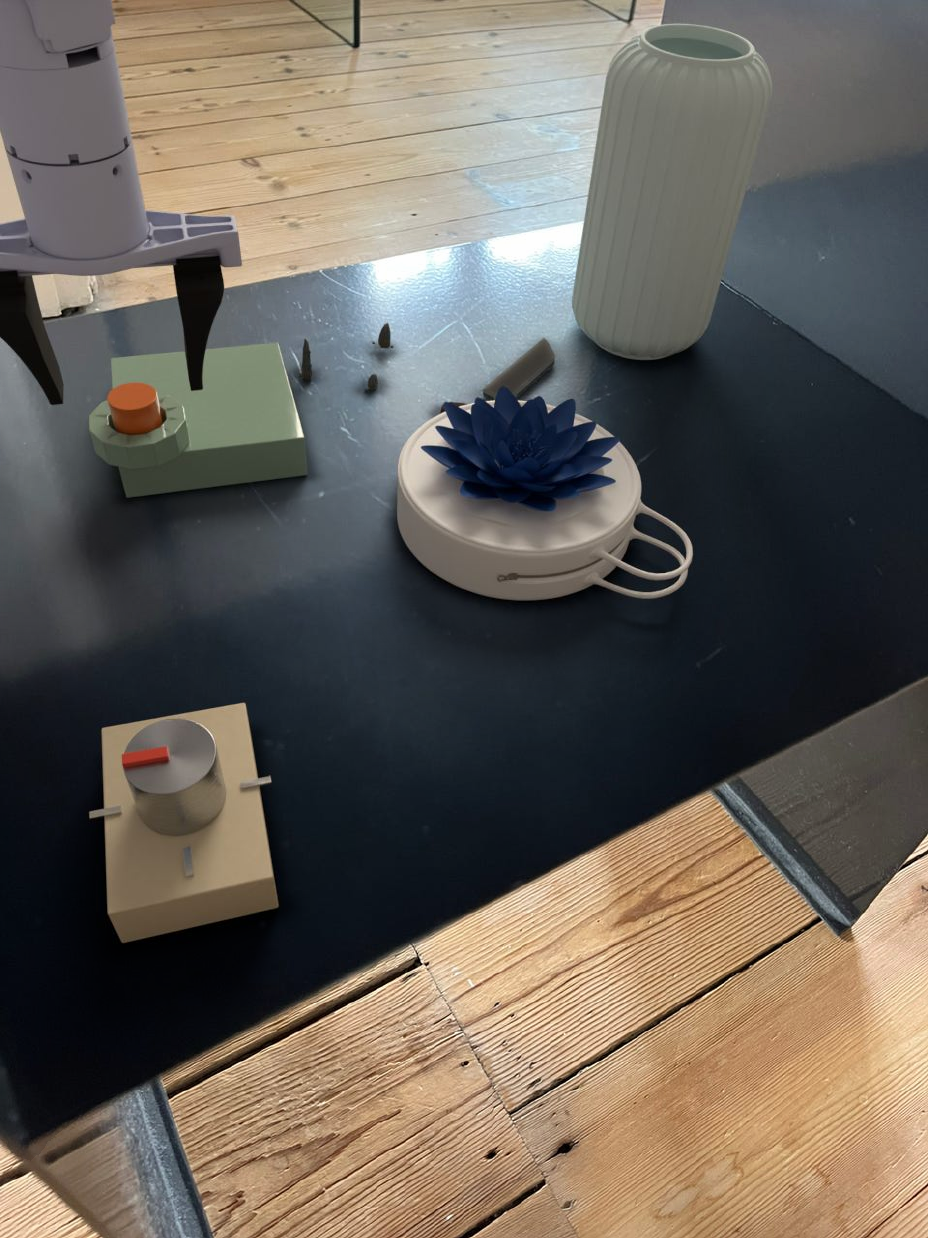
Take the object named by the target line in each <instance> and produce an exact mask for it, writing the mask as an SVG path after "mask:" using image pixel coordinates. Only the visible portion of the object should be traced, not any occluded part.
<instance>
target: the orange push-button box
mask: <svg viewBox="0 0 928 1238" xmlns="http://www.w3.org/2000/svg"><path fill="white" fill-rule="evenodd" d="M283 358H284V357H283V355H282V350H281V347H280V344H279V342H268V343H258V344H257V343H256V344H247V345H236V346H235V345H234V346H225V347H215V348H206V350H205V355H204V363H203V376H202V380H203V389H202V390H196V391H191V388H190V383H189V377H188V370H187V363H186V356H185V350H181V351H171V352H161V353H152V354H151V353H149V354H139V355H129V356H128V355H127V356H117V357H111V358H110V360H109V361H110V375H111V390H113V389H114V388H115V387H117V386H120V385H122V384H126V383H144V384H148V385H150V386H152V387H153V388H154V389H155V390H156V392H157V395H158V400H159V405H160V410H161V415H162V419H163V422H162V425H161V427H160V428H157V429H155V430H153V431H151V432H149V433H146V434H138V435H127V434H122V433H119V432H117V431H116V429H115V428H114V424H113V420H112V416H111V412H110V408H109V404H108V400H107V399H106V400H104V401H102V402H99V404H98V405H97V406H96V407H95V408H94V410H93V411H92V412H91V413H90V414H89V415H88V433H89V436H90V439H91V442H92V446H93V450H94V452H95V454H96V455H97V456H98V457H99V458H100V459H102V460H103V462H105V463H106V464H107V465H110V466H114V467H117V468H118V471H119V475H120V479H121V482H122V487H123V490H124V494H125V497H126V498H128V499H129V498H136V497H144V496H145V497H146V496H152V495H160V494H168V493H175V492H183V491H184V492H185V491H192V490H200V489H207V488H215V487H216V488H217V487H223V486H231V485H240V484H248V483H256V482H262V481H272V480H277V479H278V480H280V479H287V478H295V477H302V476H308V462H307V452H306V438H305V434H304V430H303V427H302V424H301V423H302V422H301V419H300V415H299V413H298V408H297V405H296V402H295V398H294V394H293V390H292V387H291V383H290V379H289V375H288V373H287V369H286V364H285V362H284V359H283Z"/></svg>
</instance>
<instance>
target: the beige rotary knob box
mask: <svg viewBox="0 0 928 1238" xmlns="http://www.w3.org/2000/svg"><path fill="white" fill-rule="evenodd" d="M166 719H187V720H191V721H194V722H197V723H199V724H201V725H202V726H204V727H205V728H206V729H207V730H208V731H209V732H210V733H211V734H212V736H213V738H214V740H215V742H216V747H217V751H218V756H219V760H220V764H221V769H222V773H223V778H224V782H225V787H226V799H225V802H224V805H223V807H222V809H221V811H220V813H219V814H218V815H217V817H216V818H215V819H214V820H213V821H212V822H210V823H209V824H208V825H207V826H205V827H203V828H202V829H200V830H198V831H195V832H193V833H189V834H185V835H174V836H173V835H165V834H161V833H158V832H156V831H154V830H152V829H151V828H149V827H148V826H147V825H146V824H145V823H144V822H143V820H142V819H141V817H140V815H139V812H138V810H137V807H136V804H135V801H134V799H133V796H132V793H131V790H130V787H129V785H128V782H127V779H126V776H125V774H124V770H123V765H122V754H124V752H125V749H126V747H127V745H128V744H129V742H130V741H131V739H132V738H133V737H134V736H135V735H136V734H137V733H138V732H140V731H141V730H142V729H144V728H145V727H147V726H149V725H151V724H153V723H156V722H159V721H162V720H166ZM249 720H250V719H249V715H248V709H247V705H246V702H240V703H235V704H229V705H224V706H217V707H213V708H207V709H202V710H195V711H190V712H184V713H178V714H173V715H167V716H162V717H157V718H150V719H145V720H140V721H134V722H128V723H123V724H117V725H112V726H106V727H102V728H101V758H102V759H101V760H102V784H103V786H102V788H103V789H102V790H103V808H100V809H95V810H91V811H88V815H89V816H88V817H89V820H96V819H97V820H98V819H101V818H104V821H103V822H104V845H105V846H104V849H105V851H104V852H105V874H106V875H105V876H106V877H105V878H106V879H105V880H106V904H107V905H106V906H107V909H106V910H107V915H108V917H109V919H110V921H111V923H112V926H113V927H114V930H115V932H116V935H117V936H118V938H119V940H120V942H121V943H122V944H125V943H129V942H134V941H138V940H143V939H147V938H151V937H156V936H160V935H165V934H169V933H175V932H179V931H183V930H187V929H192V928H196V927H201V926H203V925H208V924H214V923H217V922H221V921H222V922H223V921H226V920H230V919H234V918H240V917H243V916H248V915H252V914H257V913H262V912H266V911H269V910H275V909H277V908H279V906H280V905H279V900H278V893H277V886H276V882H275V876H274V868H273V863H272V857H271V848H270V843H269V836H268V831H267V826H266V825H267V824H266V818H265V813H264V807H263V806H264V805H263V799H262V794H261V789H260V788H261V787H262V786H268V785H272V777H271V775H268V776H263V777H259V774H258V769H257V763H256V756H255V750H254V745H253V743H254V742H253V737H252V732H251V726H250V721H249Z"/></svg>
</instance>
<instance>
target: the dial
mask: <svg viewBox="0 0 928 1238" xmlns="http://www.w3.org/2000/svg"><path fill="white" fill-rule="evenodd" d="M122 765H123V770H124V774H125V776H126V779H127V782H128V785H129V787H130V790H131V793H132V796H133V799H134V801H135V804H136V807H137V810H138V812H139V815H140V817H141V819H142V820H143V822H144V823H145V824H146V825H147V826H148V827H149V828H151V829H152V830H154V831H156V832H158V833H161V834H165V835H173V836H174V835H185V834H189V833H193V832H195V831H198V830H200V829H202V828H203V827H205V826H207V825H208V824H209V823H210V822H212V821H213V820H214V819H215V818H216V817H217V815H218V814H219V813H220V811H221V809H222V807H223V805H224V802H225V799H226V787H225V782H224V778H223V773H222V769H221V764H220V760H219V756H218V751H217V747H216V742H215V740H214V738H213V736H212V734H211V733H210V732H209V731H208V730H207V729H206V728H205V727H204V726H202V725H201V724H199V723H197V722H194V721H191V720H187V719H166V720H162V721H159V722H156V723H153V724H151V725H149V726H147V727H145V728H144V729H142V730H141V731H140V732H138V733H137V734H136V735H135V736H134V737H133V738H132V739H131V741H130V742H129V744H128V745H127V747H126V749H125V752H124V754H122Z"/></svg>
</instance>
